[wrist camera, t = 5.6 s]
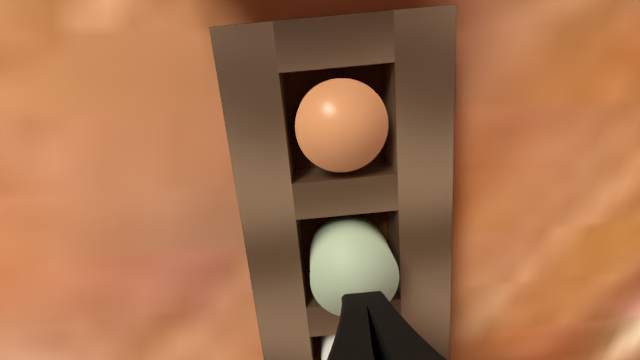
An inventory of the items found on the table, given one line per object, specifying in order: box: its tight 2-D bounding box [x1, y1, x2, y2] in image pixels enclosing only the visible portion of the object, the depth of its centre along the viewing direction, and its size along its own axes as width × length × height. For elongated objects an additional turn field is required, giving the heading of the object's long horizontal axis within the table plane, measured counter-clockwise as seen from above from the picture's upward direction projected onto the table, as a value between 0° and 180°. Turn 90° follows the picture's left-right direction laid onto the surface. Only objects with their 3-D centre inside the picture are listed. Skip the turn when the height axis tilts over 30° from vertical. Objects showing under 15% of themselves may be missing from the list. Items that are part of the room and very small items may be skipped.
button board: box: [209, 4, 456, 360], centre depth 17 cm, size 20×9×2 cm, turn 5°
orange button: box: [295, 78, 388, 172], centre depth 15 cm, size 4×4×2 cm
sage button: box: [310, 215, 399, 316], centre depth 15 cm, size 4×4×2 cm
